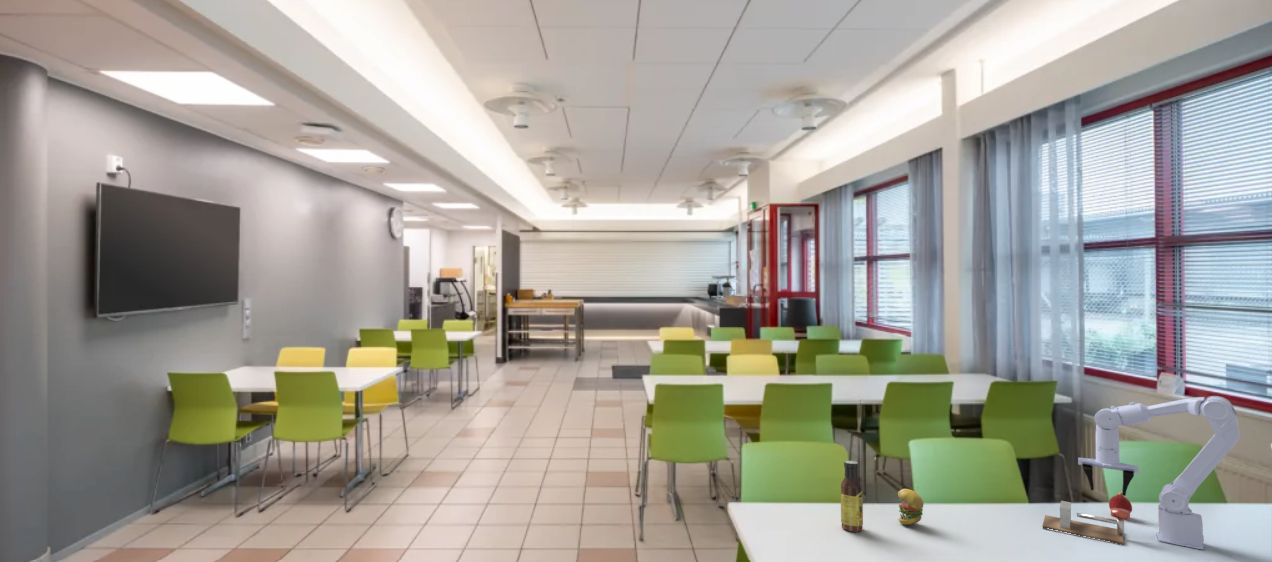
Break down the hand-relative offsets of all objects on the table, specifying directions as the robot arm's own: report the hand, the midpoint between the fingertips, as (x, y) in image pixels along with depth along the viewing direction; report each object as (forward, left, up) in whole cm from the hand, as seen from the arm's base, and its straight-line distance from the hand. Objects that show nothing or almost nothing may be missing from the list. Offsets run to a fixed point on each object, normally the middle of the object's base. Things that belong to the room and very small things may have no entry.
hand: (1107, 492), depth 181 cm
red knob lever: (+1, +10, -9) cm, 14 cm away
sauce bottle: (+61, +54, -11) cm, 82 cm away
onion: (-3, -12, -11) cm, 16 cm away
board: (+6, +10, -10) cm, 16 cm away
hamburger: (+48, +39, -11) cm, 63 cm away
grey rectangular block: (+10, +10, -10) cm, 18 cm away
